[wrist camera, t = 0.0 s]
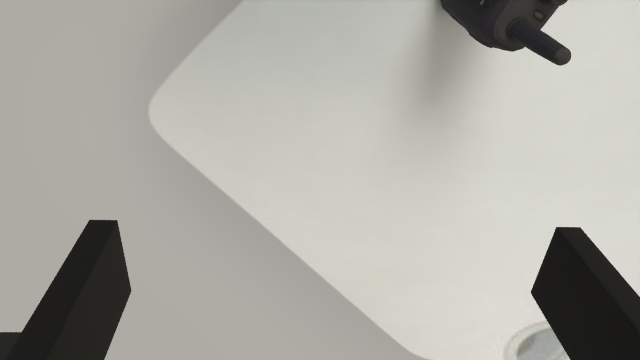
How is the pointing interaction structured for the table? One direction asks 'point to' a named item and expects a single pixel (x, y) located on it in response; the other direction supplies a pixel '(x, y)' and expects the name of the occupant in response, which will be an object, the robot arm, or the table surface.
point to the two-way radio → (510, 25)
